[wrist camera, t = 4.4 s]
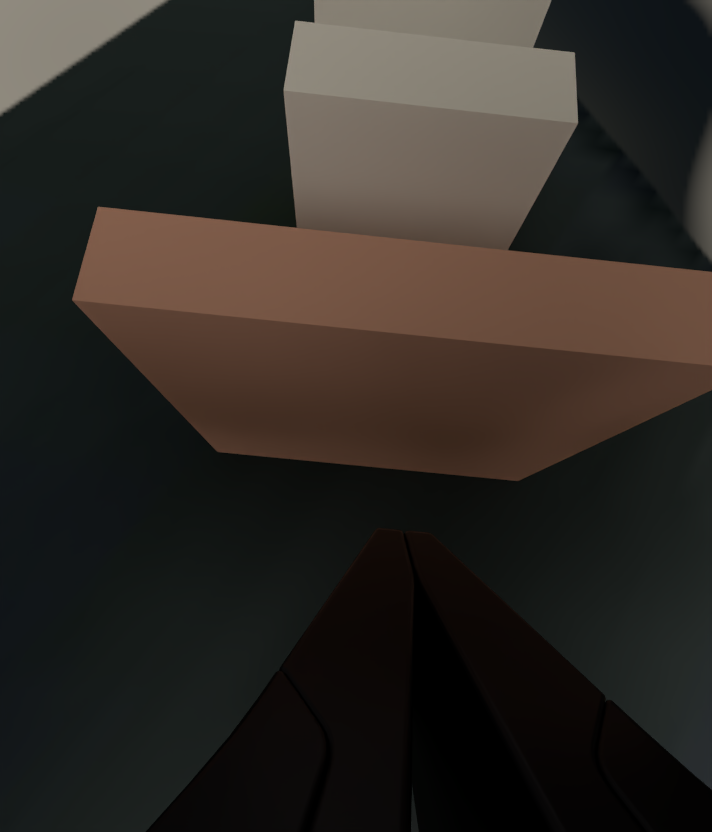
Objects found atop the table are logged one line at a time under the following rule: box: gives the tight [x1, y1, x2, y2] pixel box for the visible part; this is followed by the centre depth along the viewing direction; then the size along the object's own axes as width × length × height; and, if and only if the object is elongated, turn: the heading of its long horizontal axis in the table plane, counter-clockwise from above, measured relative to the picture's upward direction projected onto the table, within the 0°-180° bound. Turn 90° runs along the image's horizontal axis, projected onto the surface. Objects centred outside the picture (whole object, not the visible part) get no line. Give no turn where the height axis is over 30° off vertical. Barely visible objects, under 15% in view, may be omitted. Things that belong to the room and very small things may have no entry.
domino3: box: [314, 0, 551, 48], centre depth 15 cm, size 2×5×10 cm, turn 85°
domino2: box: [284, 21, 578, 250], centre depth 14 cm, size 2×5×10 cm, turn 86°
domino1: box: [72, 207, 712, 481], centre depth 13 cm, size 2×10×10 cm, turn 85°
